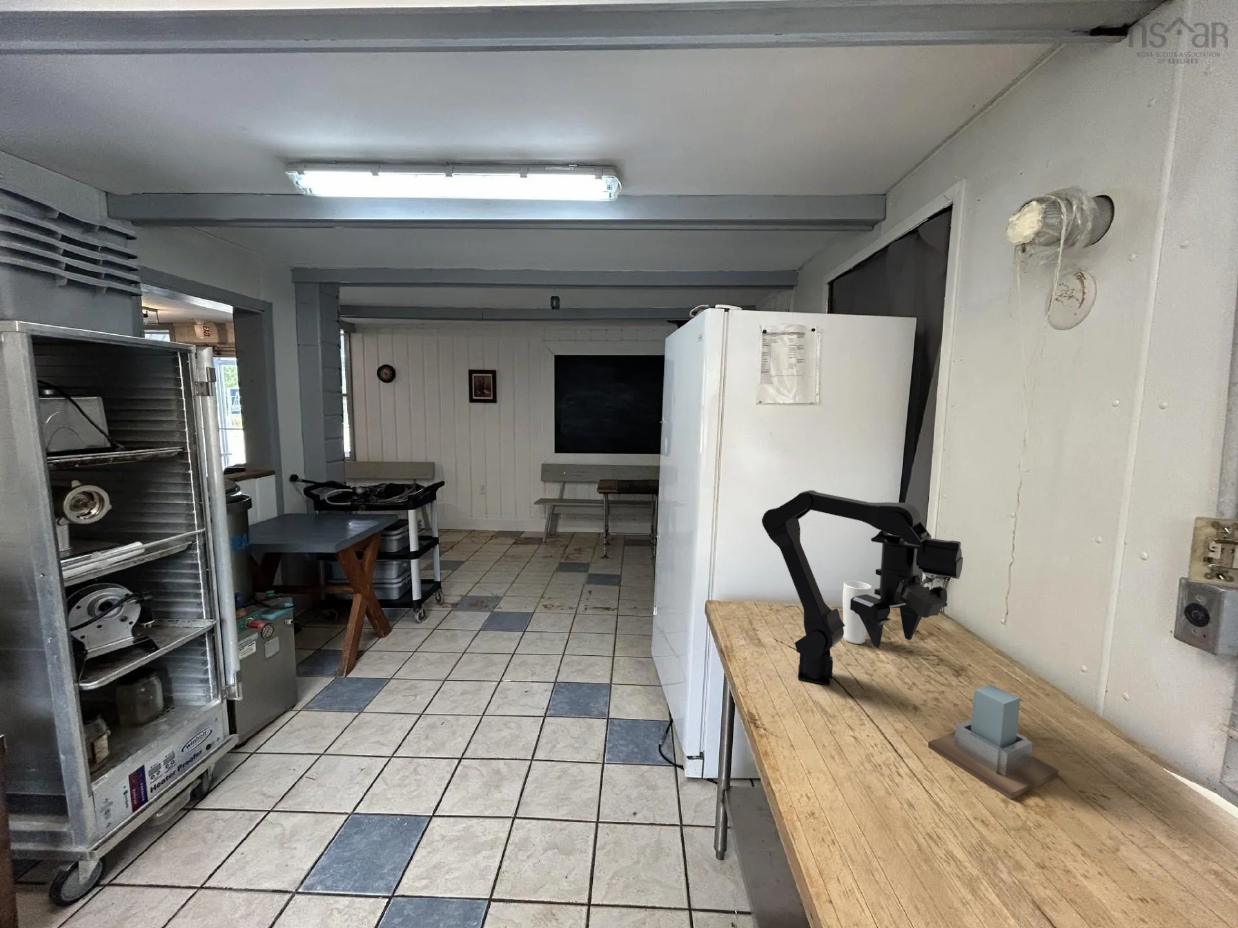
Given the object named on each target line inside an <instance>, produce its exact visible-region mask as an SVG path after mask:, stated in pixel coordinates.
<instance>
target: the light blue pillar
mask: <svg viewBox="0 0 1238 928" xmlns="http://www.w3.org/2000/svg"><path fill="white" fill-rule="evenodd" d="M973 692H974V693H973V702H972V712H971V719H972V723H971V732H973V733H975V734H977V735H978V736H980V737H982V738H984V739H986V740H987V741H989V742H991V743H993V744H995V745H996V746H998V747H1000V748H1002V749H1003V748H1005V747H1008V746H1010V745H1012V744H1015V743H1016V736H1017V733H1018V722H1019V716H1020V715H1019V714H1020V703H1021V702H1020V701H1021V698H1020V697H1019V696H1016V695H1015V694H1012V693H1010V692H1008V691H1006V690H1003V689H1001V688H999V687H997V686H995V685H992V684H991V683H990V684H988V685H985V686H981V687H978V688H975V689H974V691H973Z"/></svg>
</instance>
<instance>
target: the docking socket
mask: <svg viewBox="0 0 1238 928" xmlns="http://www.w3.org/2000/svg"><path fill="white" fill-rule="evenodd" d="M971 723H972V718H970V719H967V720H964V721H962V722H959V723H956V724H955V728H954V731H953V732H950V733H947V734H945V735H943V736H940V737H938V738H934V739H932V740H929V741H927V742H928V743H927V747H928V749H931V750H932V751H934V753H937V754H939V755H940V756H942V757H943V758H944V759H946V760H947V761H949V762H951V763H952V764H954V765H955V766H957V767H959V768H961V769H962V770H963V771H965V772H967V773H969V774H970V775H971V776H973V777H975V778H976V779H978V780H979V781H980V782H983V783H984V784H986V785H987V786H989V787H990V788H992V789H994V790H995V791H997V792H998V793H1000V794H1002V795H1003V796H1004V797H1006V798H1008V799H1009V800H1013V799H1015V798H1017V797H1019V796H1021V795H1023V794H1026V793H1027V792H1029V791H1031V790H1033V789H1035V788H1037V787H1039V786H1041V785H1044V784H1045V783H1048V782H1049V781H1051V780H1053V779H1055V778H1057V777H1059V774H1060V773H1059V772H1060V770H1059V769H1057V768H1055V767H1053V766H1052V765H1049V764H1048V763H1046V762H1045V761H1042V760H1040V759H1038V758H1037V757H1036V756H1033V755H1032V754H1033V745H1034V744H1033V742H1032V741H1031V740H1029V739H1028V737H1026V736H1024V735H1023V734H1020V733H1018V732H1017V736H1016V743H1015V744H1012V745H1010V746H1008V747H1005V748H1003V749H1002V748H1000V747H998V746H996V745H995V744H993V743H991V742H989V741H987V740H986V739H984V738H982V737H980V736H978V735H977V734H975V733H973V732H971Z"/></svg>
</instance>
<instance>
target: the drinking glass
mask: <svg viewBox="0 0 1238 928" xmlns="http://www.w3.org/2000/svg"><path fill="white" fill-rule="evenodd" d="M865 594H868V595H870V596H873V587H872V585H871V584H868V583H866V582H864V581H863V582H862V581H859V580H846V581H844V582H843V587H842V622H843V623H844V624H845V626H844V627H843V629H844V635H843V637H842V638H843V639H844V640H845V641H847V642H849V643H852V644H855V645H857V644H858V645H862V644H864V643H865V642H866V637H867V630H866V628H865V626H864V624H863V622H862V620H861V618H860V616H859V615H858V614H856V613H855V612H854V611H852V610H850V599H852V598H853V597H854V596H859V595H865Z"/></svg>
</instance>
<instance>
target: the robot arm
mask: <svg viewBox="0 0 1238 928" xmlns="http://www.w3.org/2000/svg"><path fill="white" fill-rule="evenodd" d="M810 511H814V512H818V513H823V514H828V515H833V516H838V517H841V518H845V519H850V520H854V521H860V522H862V523H865V524H868V525H870V526H872V527H873V529H877V530H879V532H878V533H877V534H876V535H875V536H873V537H871V538H870V541H871V542H872V543H879V544H881V545H882V546H881V560H880V562H881V563H880V568H877V569H875V575H877V576H879V588H875V589H874V592H873V593H874V595H876V596H878V597H879V598H878V597H875V596H873V595H872V596H870V595H868V594H865V595H859V596H854V597H853V598H852V599H850V610H852V611H854V612H855V613H856V614H858V615H859V616H860V618H861V620H862V622H863V624H864V626H865V628H866V630H867V631H866V633H867V634H868V637H869V639H870V641H871V644H872V646H873V647H874V648H877V649H879V648H880V647H881V643H882V637H883V629H884V624H886V623H888V622H889V621H890V620H891V618H889V615H891V609H892V608H894V607H899V612H900V619H901V625H902V630H903V631H902V632H903V636H904V638H905V639H906V640H908V641H911V640H912V639H913V637H914V634H915V632H916V631H917V628H918V626H919V624H920V622H921V619H923V618H925V619H927V618H930V617H933V616H935V617H938V615H939V613H940V611H941V610H942V608H946V607H948V602H947V601H948V591H947V589H946V588H944V587H942V586H941V585H938V586H933V587H932V588H931V587H929V586H924V585H922V584H921V577H920V576H919V574H917V573H915V564H916V566H917V567H918V569H919V570H921V571H922V573H925V574H929V575H934V576H940V577H945V578H951V579H956V580H959V579H960V577H961V574H962V572H963V571H962V570H963V569H962V568H963V563H964V557H963V556H962V555H963V554H962V553H963V552H962V547H961V546H962V543H961V541H958V540H946V539H944V540H943V539H937V538H932V535H931V533H930V532H929V530H927V528H926V527H925V525H924V524H923V522H922V521H921V515H920V513H919V512H920V511H919V510H918V509H917V508H916V507H915V505H913V504H911V503H906V502H890V501H889V502H869V501H865V500H858V499H853V498H849V497H843V496H839V495H832V494H828V493H823V492H818V491H816V490H814V489H809V490H804V491H801V492H799V493H798V494H797V495H796V496H794V497H793V498H792V499H790V500H788V501H787V502H785V503H783V504H781V505H780V506H779V507H774V508H771V509H768V510H767V511H765V512H764V514H763V516H762V518H761V523H762V527H763V529H764V530H765V532H766V533H767V536H768V537H769V539H770V540H771V541H772V542H773V543H774V544H775V546H777V547H778V548H779V550H780V552H781V555H782V558H783V560H784V563H785V565H786V567H787V570H788V572H789V576H790V577H791V580H792V582H793V586H794V588H795V591H796V594H797V596H798V599H799V601H800V603H801V606H802V609H803V629H804V631H805V635H802V637H801V638H799V639H798V640H797V641H795V642H794V645H795V649H796V652H797V653H799V662H798V663H799V664H798V670H797V679H798V680H800V681H804V682H809V683H810V682H811V683H813V684H814V683H815V684H820V685H825V686H830V684H831V682H830V680H832V679H833V667H834V660H833V659H834V658H833V656H831V649H832V648H833V647H834V646H835V645H837V644H838V643H839V642H840V641H842V640H843V638H844V637H843V635H844V629H843V627H844V626H845V624H844V623H843V619H841V614H840V612H839V609H838V608H837V607H836V608H833V609H831V608H830V607H829V606H828V604H827V603H826V602H825V601H824V598H823V596H822V593H821V590H820V588H819V585H818V583H817V580H816V578H815V575H814V573H813V570H812V568H811V566H810V564H809V560H808V558H807V555H806V553H805V550H804V547H803V546H802V542H801V525H800V521H799V520H800V519H802V518H803V517H804V516H806V515H807V514H808V513H809V512H810Z"/></svg>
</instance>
